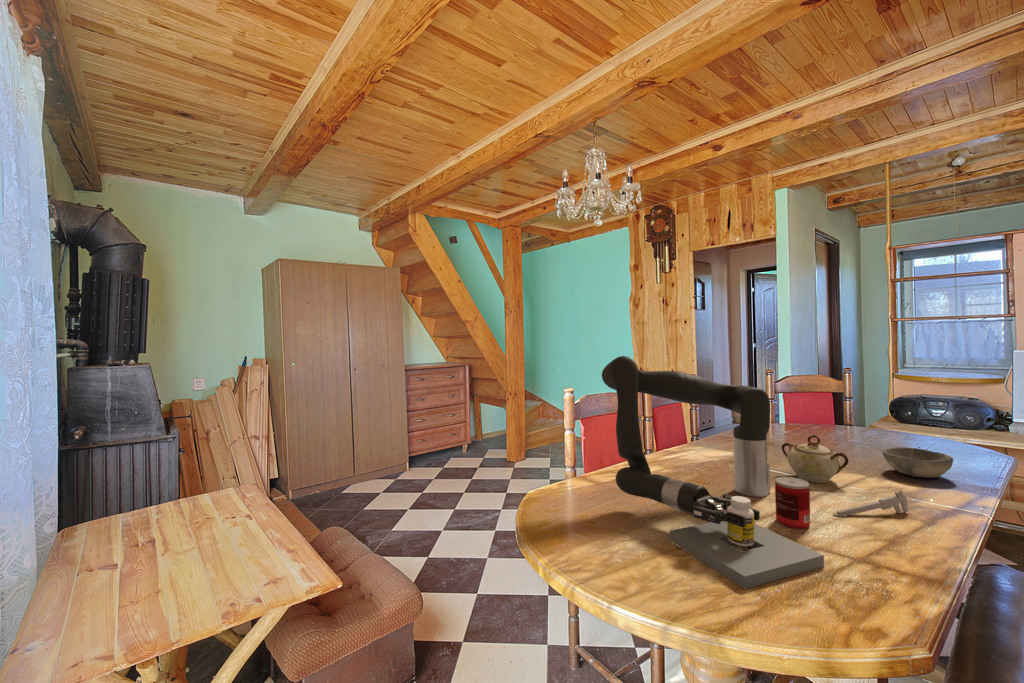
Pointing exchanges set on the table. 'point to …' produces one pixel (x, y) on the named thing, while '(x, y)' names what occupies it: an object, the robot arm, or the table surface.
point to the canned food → (792, 502)
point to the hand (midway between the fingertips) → (751, 519)
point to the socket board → (747, 554)
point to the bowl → (918, 461)
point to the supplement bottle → (737, 533)
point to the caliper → (879, 505)
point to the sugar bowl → (814, 461)
